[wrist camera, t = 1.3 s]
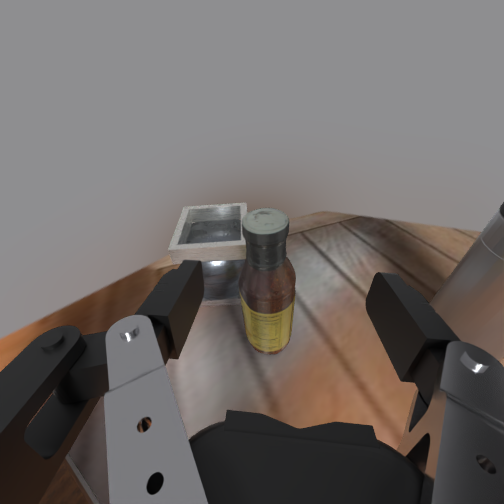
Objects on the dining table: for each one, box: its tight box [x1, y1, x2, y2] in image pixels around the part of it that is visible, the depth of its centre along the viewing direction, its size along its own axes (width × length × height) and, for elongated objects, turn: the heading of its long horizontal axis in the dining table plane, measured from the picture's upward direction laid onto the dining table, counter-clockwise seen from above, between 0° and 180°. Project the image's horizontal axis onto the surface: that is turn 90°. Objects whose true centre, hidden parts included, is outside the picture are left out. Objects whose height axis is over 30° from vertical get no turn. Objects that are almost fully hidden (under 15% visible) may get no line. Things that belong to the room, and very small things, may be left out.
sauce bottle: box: [238, 208, 296, 354], centre depth 26 cm, size 7×6×20 cm
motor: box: [168, 203, 247, 307], centre depth 37 cm, size 14×12×12 cm
